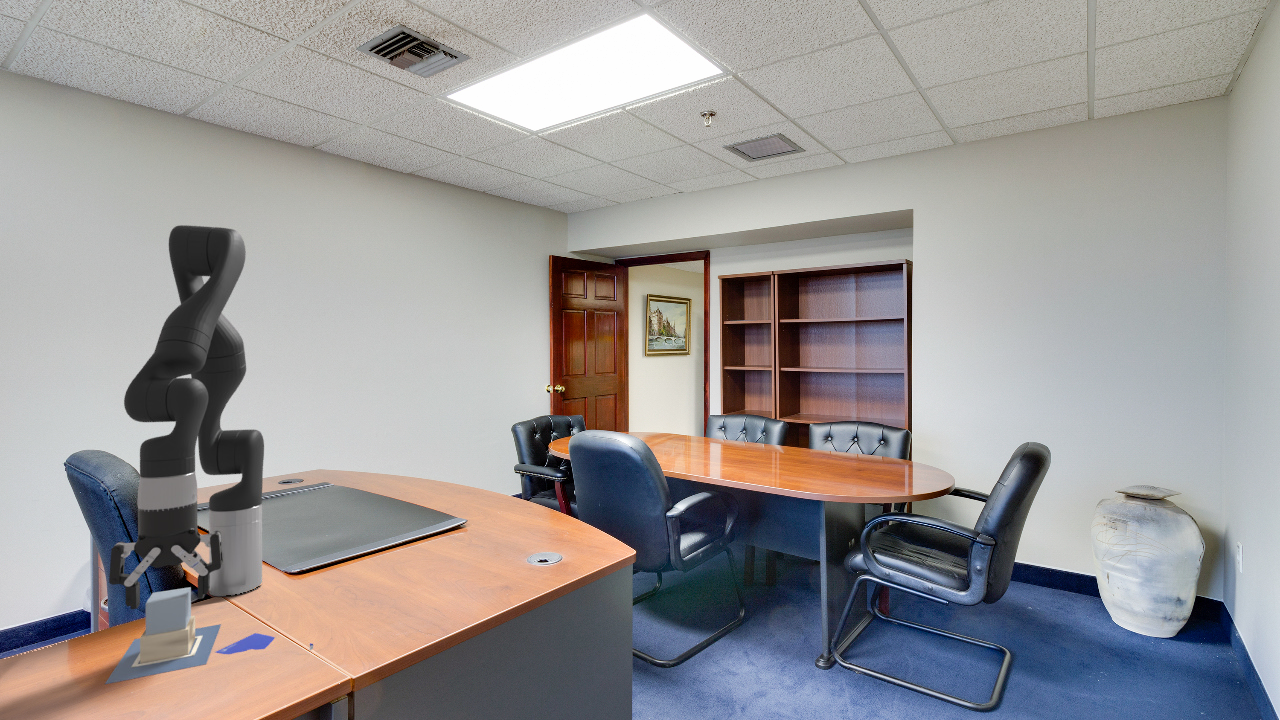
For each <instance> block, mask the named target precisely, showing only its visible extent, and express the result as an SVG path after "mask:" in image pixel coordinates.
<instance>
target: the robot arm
mask: <svg viewBox="0 0 1280 720" xmlns="http://www.w3.org/2000/svg"><path fill="white" fill-rule="evenodd" d="M168 253H169V259H170V264H171V269H172V273H173V277H174V281H175V286H176V289H177V294H178V297H179V301H180V304H179V305H178V306H177V307H176V308H174V310H173V311H171V313H170V314H169V315H168V316H167V318H166V320H165V321H164V323H163V325H162V328H161V330H160V333H159V337H158V339H157V343H156V346H155V349H154V352H153V353H152V354H151V356H149V358H148V360H147V361H146V362H145V364H144V365H143V366H142V368H141V369H140V370H139V372H138V373H137V374H136V375H135V377H133V379H132V380H131V382H130V384H129V385H128V387H127V389H126V391H125V393H124V398H123V404H124V405H123V407H124V410H125V413H126V414H127V415H128V416H129V418H131V419H132V420H133V421H134V422H135V421H136V422H139V423H170V422H175V425H174V427H173V429H172V430H171V432H170V433H168V434H167V435H166V434H165V435H161V436H155V437H151V438H148V439H145V440H144V441H143V442H142V443H141V445H140V447H139V448H140V449H139V483H138V490H137V499H136V503H137V524H138V525H137V530H138V531H137V541H136V542H124V541H119V542H117V543H116V544H114V546H112V547H111V549H110V551H111V552H110V562H109V563H110V564H109V575H108V576H109V578H108V582H109V584H110V585H112V586H113V585H120V586H121V585H122V586H124V588H125V590H124V591H125V593H124V594H125V605H126V607H130V611H131V610H137V609H138V608H139V607H140V604H141V585H140V582H141V581H139V580H138V579H139V578H140V577H141V576H142V575H143V573H144V572H145V571H146V570H147V569H148V567H153V568H155V569H157V568H163V567H165V566H166V567H167V566H180V564H182V563H184V564H186V566H188V567H189V568H190V569H192V570H194V571H195V572H196V573H197V574H198V576H197V599H199V600H201V599H204V598H205V596H206V595H207V594H208V593H209V594H210V595H211V596H215V597H227V596H226V595H231V596H235V594H237V595H241V594H240V593H242V594H244V593H243V592H246V591H249V590H251V589H254V588H255V587H257V586H259V585H260V584H261V583H262V584H263V504H262V503H263V475H264V473H263V472H264V459H265V440H264V436H263V434H262V432H261V431H259V430H258V429H232V430H231V429H229V430H228V429H227V430H222V428H221V419H222V418H221V417H222V415H223V411H224V410H225V408H226V405H228V402H229V401H230V399H231V398H232V396H233V395H234V393H236V391H237V389H238V388H239V387H240V385H241V383H242V382H243V380H244V378H245V376H246V372H247V362H246V352H245V345H244V343H245V342H244V340H243V337H242V336H241V335H240V333H239V331H238V330H237V328H236V327H234V325H233V324H232V323H231V321H230V320H228V318H227V317H226V316H225V315H224V314H223V313H222V312H223V311H224V308H225V307H226V305H227V303H228V302H229V300H230V297H231V295H232V293H233V291H234V290H235V287H236V285H237V282H238V281H239V278H240V277H241V274H242V272H243V269H244V266H245V261H246V254H247V253H246V245H245V241H244V238H243V237H242V234H241V233H239V232H238V231H237V230H235V229H233V228H226V227H217V226H213V227H212V226H201V225H199V226H198V225H189V224H188V225H187V224H186V225H175V226H174V227H173V228H172V229H171V231H170V233H169V237H168ZM203 277H209V278H208V279H207V280H206V282H205V283H204V279H203ZM187 375H190V376H191V377H184V376H187ZM196 446H198V457H199V464H200V466H201V467H200V468H201V469H202V471H203V473H205V475H209V476H223V475H224V476H225V475H229V476H230V475H241V479H240V481H239V482H238V483H236V484H235V485H233V486H231V487H229V488H225V489H223V490H220V491H218V492H214V493H213V494H212V495H210V496H209V500H208V512H209V513H208V518H209V519H208V520H209V521H208V522H209V523H208V526H209V527H208V528H209V529H208V531H209V532H208V533H207V534H206V533H205V534H200V532H199V530H198V529H199V528H198V483H197V482H198V481H197V476H196ZM200 543H204V544H205V547H207V548H209V550H208V551H209V554H208V555H209V556H208V559H209V560H208V561H209V563H208V562H207V561H205V559H203V557H202V555H201V554H199V552H198V551H196V548H198V546H199V545H200ZM132 551H134V552H135V553H136V554H137V555H139V557H140V558H142V560H141V562H140V563H139V564H138V565H137V566H136V568H135V569H134V570H133V571H132V572H131V573H125V563H126V561H125V560H126V558H127V557H129V556H130V554H131V552H132ZM254 590H255V589H254ZM249 592H250V591H249ZM246 593H247V592H246Z"/></svg>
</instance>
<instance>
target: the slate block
mask: <svg viewBox="0 0 1280 720" xmlns="http://www.w3.org/2000/svg"><path fill="white" fill-rule="evenodd" d="M191 616H192V587H191V586H190V587H184V588H183V587H182V588H177V589H170V590H164V591H156V592H152V593H151V595H150V597H149V598H148V599H147V601H146V602H145V630H146V636H148V635H153V634H159V633H165V632H170V631H176V630H182V629H186V627H187V625H188V622H189V620H190V618H191Z"/></svg>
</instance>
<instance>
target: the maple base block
mask: <svg viewBox="0 0 1280 720" xmlns="http://www.w3.org/2000/svg"><path fill="white" fill-rule="evenodd" d="M195 629H196V615H191V618H190V620H189V622H188V625H187V627H186V629H182V630H176V631H170V632H165V633H159V634H153V635H148V636H146V629H145V630H144V632H142V634H141V635H140V637H139V638H140V664H142V663H147V662H152V661H157V660H163V659H168V658H173V657H179V656H184V655H188V654H189V652H190V650H191V648H192V645H193V643H194V641H195Z"/></svg>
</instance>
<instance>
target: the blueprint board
mask: <svg viewBox="0 0 1280 720" xmlns="http://www.w3.org/2000/svg"><path fill="white" fill-rule="evenodd" d="M221 626H222V623H219V624H214V625H209V626H207V625H206V626H203V627H197V628H196V627H195V641H194V643H193V645H192V648H191V650H190V652H189V654H188V655H184V656H179V657H173V658H168V659H163V660H157V661H152V662H147V663H142V664H140V637H139V638H134V640H133V641H132V642H131V644H130V645H129V647H128V649H127V650H126V652H125V653H124V655H123V656H122V658H121V659H120V660H119V662H118V663H117V665H116V666H115V668H114V670H113V671H112V672H111V674H110V675H109V677H108V679H107V680H106V681H105V683H104V685H108V684H114V683H119V682H120V683H121V682H123V681H129V680H133V679H139V678H145V677H149V676H154V675H155V676H156V675H160V674H163V673H165V674H166V673H169V672H173V671H179V670H184V669H189V668H190V669H191V668H193V667H194V668H195V667H200V666H204V665H207V663H208V661H209V657H210V656H211V652H212V650H213V647H214V646H215V645H214V644H215V642H216V639H217V637H218V634H219V631H220V629H221Z"/></svg>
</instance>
